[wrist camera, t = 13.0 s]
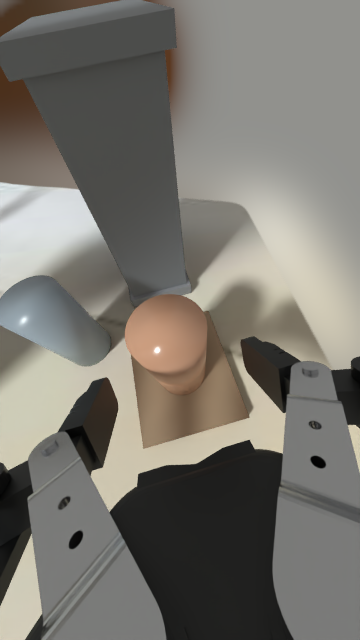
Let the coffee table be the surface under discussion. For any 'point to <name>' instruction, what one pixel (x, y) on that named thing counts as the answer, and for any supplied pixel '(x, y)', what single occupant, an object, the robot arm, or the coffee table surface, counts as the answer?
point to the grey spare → (53, 320)
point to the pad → (189, 399)
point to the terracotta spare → (170, 341)
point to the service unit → (112, 127)
